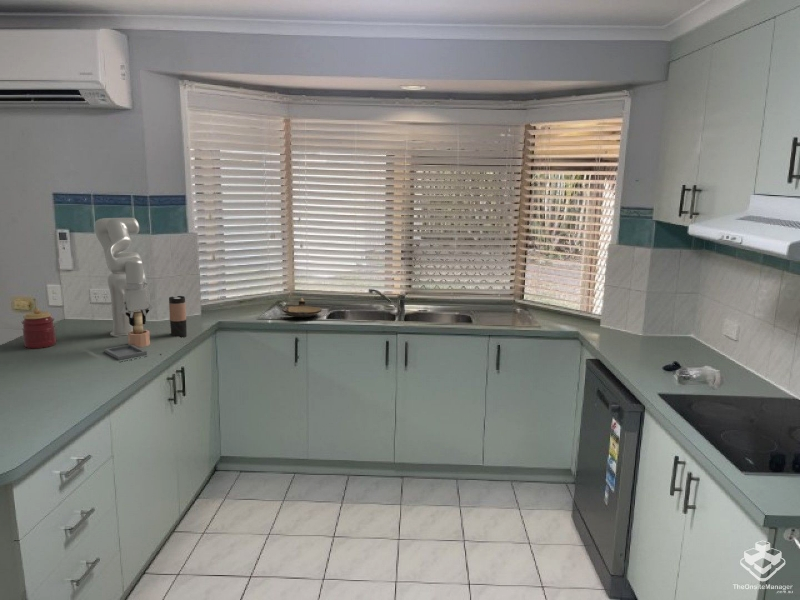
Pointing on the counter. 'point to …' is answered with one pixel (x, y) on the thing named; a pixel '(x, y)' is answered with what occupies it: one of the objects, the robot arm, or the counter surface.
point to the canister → (38, 329)
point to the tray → (125, 352)
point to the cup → (139, 339)
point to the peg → (138, 323)
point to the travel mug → (177, 316)
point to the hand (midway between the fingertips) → (137, 324)
